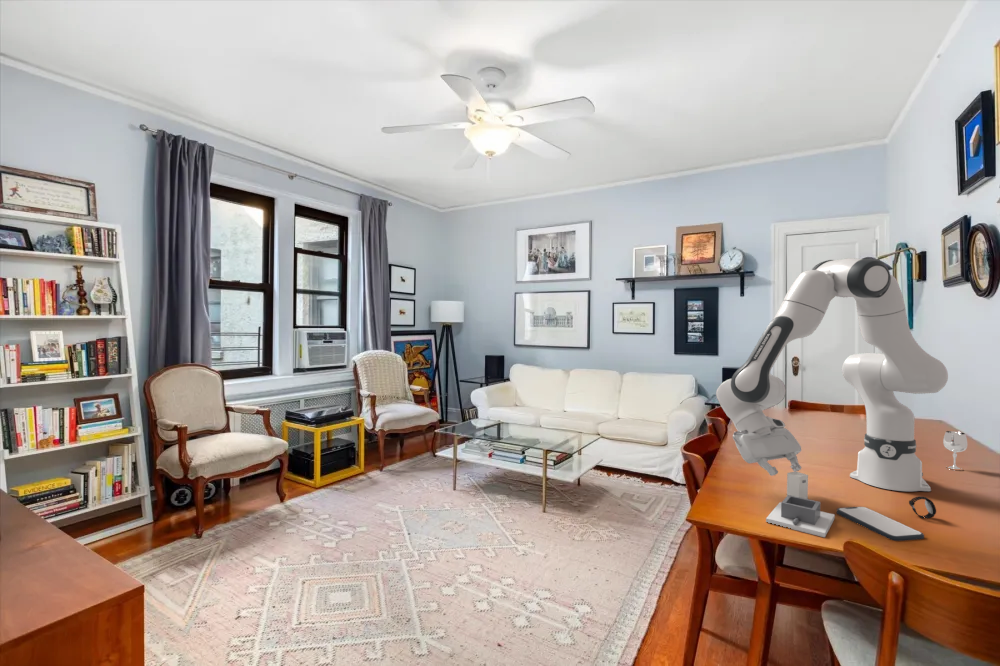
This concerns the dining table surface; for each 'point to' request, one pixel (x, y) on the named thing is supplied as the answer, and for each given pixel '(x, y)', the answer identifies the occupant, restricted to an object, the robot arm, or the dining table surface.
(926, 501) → the smartwatch
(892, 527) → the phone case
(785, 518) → the dock
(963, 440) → the wineglass
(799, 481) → the block
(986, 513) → the dining table surface
